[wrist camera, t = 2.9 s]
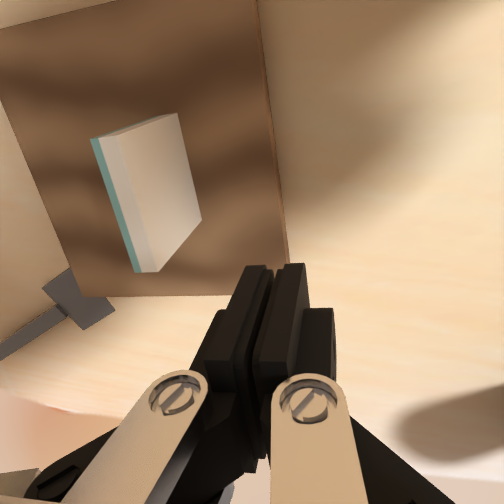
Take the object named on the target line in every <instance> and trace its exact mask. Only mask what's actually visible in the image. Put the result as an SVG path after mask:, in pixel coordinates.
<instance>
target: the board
mask: <svg viewBox="0 0 504 504" xmlns="http://www.w3.org/2000/svg"><path fill="white" fill-rule="evenodd" d="M0 100H1V102H2V104H3V107H4V109H5V112H6V114H7V116H8V119H9V121H10V124H11V126H12V128H13V131H14V133H15V136H16V138H17V140H18V143H19V145H20V148H21V150H22V152H23V155H24V157H25V159H26V162H27V164H28V167H29V169H30V171H31V174H32V176H33V179H34V181H35V183H36V186H37V188H38V191H39V193H40V195H41V198H42V200H43V203H44V205H45V207H46V210H47V212H48V214H49V217H50V219H51V222H52V224H53V226H54V229H55V231H56V234H57V236H58V238H59V241H60V243H61V246H62V248H63V250H64V253H65V255H66V258H67V260H68V262H69V265H70V267H71V269H72V272H73V274H74V277H75V279H76V281H77V284H78V286H79V289H80V291H81V293H82V296H83V297H136V296H211V295H233V293H234V291H235V288H236V286H237V284H238V282H239V279H240V277H241V275H242V273H243V271H244V268H245V266H246V265H266V267H267V269H273V272H274V277H275V276H276V272H277V269H283V268H284V264H289V263H290V257H289V250H288V242H287V234H286V226H285V219H284V211H283V203H282V195H281V187H280V180H279V172H278V164H277V156H276V148H275V141H274V133H273V125H272V117H271V109H270V102H269V94H268V86H267V78H266V70H265V63H264V55H263V47H262V39H261V31H260V24H259V16H258V8H257V0H116V1H112V2H108V3H104V4H100V5H96V6H92V7H88V8H84V9H80V10H76V11H72V12H68V13H63V14H59V15H55V16H51V17H47V18H43V19H39V20H35V21H31V22H27V23H23V24H19V25H15V26H11V27H7V28H3V29H0ZM173 113H177V114H178V119H179V123H180V127H181V132H182V136H183V140H184V145H185V149H186V153H187V158H188V162H189V166H190V171H191V175H192V179H193V184H194V188H195V192H196V196H197V201H198V205H199V209H200V214H201V218H202V221H201V222H200V223H199V224H198V226H197V227H196V228H195V229H194V230H193V231H192V233H191V234H190V235H189V236H188V237H187V239H186V240H185V241H184V242H183V243H182V245H181V246H180V247H179V248H178V249H177V250H176V252H175V253H174V254H173V255H172V256H171V258H170V259H169V260H168V261H167V262H166V264H165V265H164V266H163V267H162V268H161V269H160V271H159V272H143V273H135V272H134V269H133V266H132V263H131V260H130V257H129V254H128V251H127V248H126V245H125V242H124V239H123V237H122V234H121V231H120V228H119V225H118V222H117V219H116V216H115V213H114V210H113V207H112V204H111V201H110V198H109V195H108V192H107V189H106V186H105V183H104V180H103V177H102V174H101V171H100V168H99V165H98V162H97V159H96V156H95V153H94V150H93V147H92V144H91V141H90V139H92V138H95V137H97V136H100V135H103V134H106V133H109V132H112V131H115V130H118V129H120V128H123V127H126V126H129V125H132V124H135V123H138V122H140V121H143V120H146V119H149V118H152V117H155V116H159V115H166V114H173Z"/></svg>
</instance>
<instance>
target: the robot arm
mask: <svg viewBox="0 0 504 504" xmlns="http://www.w3.org/2000/svg"><path fill="white" fill-rule="evenodd" d="M266 454H267V455H268V460H269V465H270V470H271V484H270V485H271V487H270V491H271V492H270V504H455V503H454V502H453V501H452V500H451V499H449V498H448V497H447V496H446V495H445V494H443V493H442V492H441V491H440V490H439V489H437V488H436V487H435V486H434V485H433V484H431V483H430V482H429V481H428V480H427V479H425V478H424V477H423V476H422V475H421V474H419V473H418V472H417V471H416V470H415V469H413V468H412V467H411V466H410V465H409V464H407V463H406V462H405V461H404V460H403V459H401V458H400V457H399V456H398V455H397V454H395V453H394V452H393V451H392V450H391V449H389V448H388V447H387V446H386V445H385V444H383V443H382V442H381V441H380V440H379V439H377V438H376V437H375V436H374V435H373V434H371V433H370V432H369V431H368V430H367V429H365V428H364V427H363V426H362V425H361V424H359V423H358V422H357V421H356V420H355V419H353V418H352V417H351V416H350V415H349V411H348V407H347V402H346V397H345V395H344V393H343V390H342V388H341V387H340V386H339V385H338V384H337V383H336V336H335V323H334V312H333V308H310V303H309V294H308V285H307V276H306V268H305V263H289V264H284V268H283V269H277V272H276V276H275V277H274V272H273V269H267V267H266V265H246V266H245V268H244V271H243V273H242V275H241V277H240V279H239V282H238V284H237V286H236V288H235V291H234V293H233V295H232V297H231V299H230V302H229V304H228V306H227V308H226V309H221V310H218V311H217V313H216V314H215V316H214V319H213V321H212V323H211V325H210V327H209V329H208V331H207V333H206V335H205V337H204V339H203V341H202V343H201V346H200V348H199V350H198V352H197V354H196V356H195V358H194V360H193V362H192V364H191V366H190V368H189V370H179V371H174V372H171V373H168V374H166V375H163V376H162V377H160V378H159V379H157V380H156V381H154V382H153V383H152V384H151V385H150V386H149V387H148V388H147V389H146V391H145V392H144V393H143V395H142V396H141V397H140V399H139V400H138V401H137V403H136V404H135V405H134V406H133V408H132V409H131V410H130V412H129V413H128V414H127V416H126V417H125V418H124V420H123V421H122V422H121V423H120V425H119V426H118V427H116V428H114V429H112V430H111V431H109V432H107V433H105V434H104V435H102V436H100V437H98V438H96V439H95V440H93V441H91V442H89V443H88V444H86V445H84V446H82V447H81V448H79V449H77V450H75V451H73V452H72V453H70V454H68V455H66V456H64V457H63V458H61V459H59V460H57V461H56V462H54V463H53V464H51V465H50V466H48V467H47V468H46V469H44V470H43V471H42V472H41V471H40V470H39V468H35V469H29V470H22V471H15V472H8V473H1V474H0V504H230V501H231V499H232V496H233V491H234V481H235V480H236V479H238V478H239V477H240V476H242V475H243V474H244V472H245V473H256V468H257V463H258V459H265V457H266Z"/></svg>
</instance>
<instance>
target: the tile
mask: <svg viewBox="0 0 504 504" xmlns="http://www.w3.org/2000/svg"><path fill="white" fill-rule="evenodd" d="M90 141H91V144H92V147H93V150H94V153H95V156H96V159H97V162H98V165H99V168H100V171H101V174H102V177H103V180H104V183H105V186H106V189H107V192H108V195H109V198H110V201H111V204H112V207H113V210H114V213H115V216H116V219H117V222H118V225H119V228H120V231H121V234H122V237H123V239H124V242H125V245H126V248H127V251H128V254H129V257H130V260H131V263H132V266H133V269H134V272H135V273H143V272H159V271H160V269H161V268H162V267H163V266H164V265H165V264H166V262H167V261H168V260H169V259H170V258H171V256H172V255H173V254H174V253H175V252H176V250H177V249H178V248H179V247H180V246H181V245H182V243H183V242H184V241H185V240H186V239H187V237H188V236H189V235H190V234H191V233H192V231H193V230H194V229H195V228H196V227H197V226H198V224H199V223H200V222H201V221H202V218H201V214H200V209H199V205H198V201H197V196H196V192H195V188H194V184H193V179H192V175H191V171H190V166H189V162H188V158H187V153H186V149H185V145H184V140H183V136H182V132H181V127H180V123H179V119H178V114H177V113H173V114H166V115H159V116H155V117H152V118H149V119H146V120H143V121H140V122H138V123H135V124H132V125H129V126H126V127H123V128H120V129H118V130H115V131H112V132H109V133H106V134H103V135H100V136H97V137H95V138H92V139H90Z"/></svg>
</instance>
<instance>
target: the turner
mask: <svg viewBox="0 0 504 504" xmlns="http://www.w3.org/2000/svg"><path fill="white" fill-rule="evenodd" d="M42 289H43V290H44V291H45V292H46V293H47V294H48V295H49V296H50V297H51V298H52V299H53V300H54V301H55V302H56V303H57V304H56V305H54V306H53V307H51V308H50V309H48V310H47V311H46V312H44V313H43V314H41V315H40V316H38V317H37V318H35V319H34V320H32V321H31V322H30V323H28V324H27V325H25V326H24V327H22V328H21V329H19V330H18V331H16V332H15V333H14V334H12V335H11V336H9V337H8V338H6V339H5V340H3V341H2V342H0V361H1V360H3V359H4V358H6V357H7V356H9V355H10V354H12V353H13V352H15V351H16V350H18V349H19V348H21V347H22V346H24V345H25V344H27V343H28V342H30V341H31V340H33V339H34V338H36V337H37V336H39V335H41V334H42V333H44V332H45V331H47V330H48V329H50V328H51V327H53V326H54V325H56V324H57V323H59V322H60V321H62V320H63V319H65V318H66V317H67V316H68V315H69V316H70V317H71V318H72V319H73V320H74V321H75V322H76V323H77V325H78V326H79V327H80V328H81V329H82V330H85V329H86V328H88V327H90V326H91V325H93V324H94V323H96V322H98V321H99V320H101V319H102V318H104V317H106V316H107V315H109V314H110V313H112V312H114V311H115V309H114V308H113V306H112V305H111V304H110V302H109V301H108V300H107V299H106V297H83V296H82V293H81V291H80V289H79V286H78V284H77V281H76V279H75V277H74V274H73V272H72V269H71V267H70V268H69V269H67V270H66V271H65V272H63V273H62V274H60V275H59V276H58V277H56V278H55V279H54V280H52V281H51V282H49V283H48V284H47V285H45V286H44V287H43V288H42Z"/></svg>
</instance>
